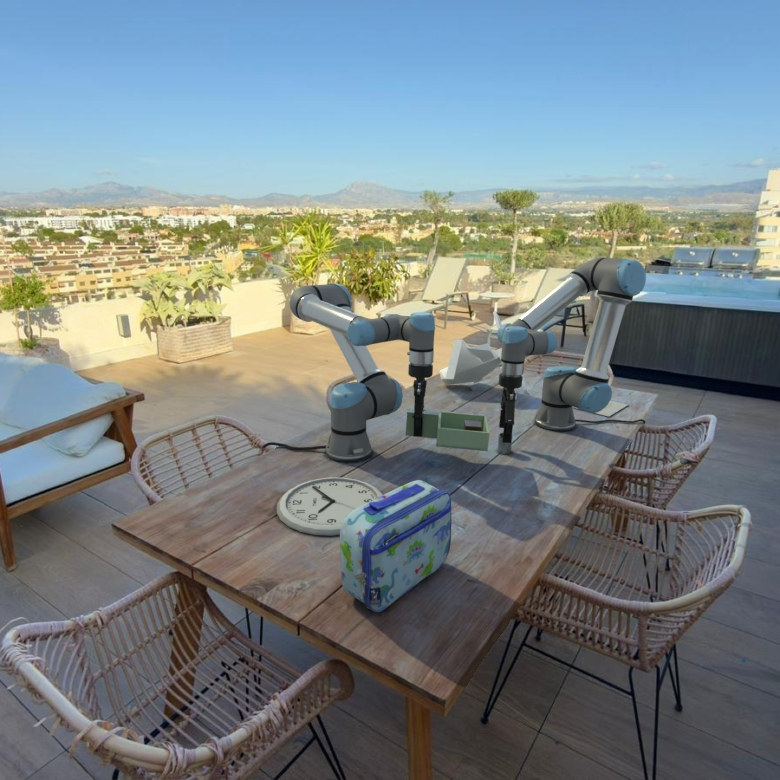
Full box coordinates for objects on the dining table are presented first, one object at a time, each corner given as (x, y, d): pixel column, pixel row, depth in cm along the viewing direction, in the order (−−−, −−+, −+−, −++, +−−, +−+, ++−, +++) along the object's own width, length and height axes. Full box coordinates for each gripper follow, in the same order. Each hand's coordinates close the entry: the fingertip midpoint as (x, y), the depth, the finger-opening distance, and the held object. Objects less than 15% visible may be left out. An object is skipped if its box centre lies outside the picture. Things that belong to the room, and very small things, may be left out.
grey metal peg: (510, 449, 181) (511, 433, 179) (511, 454, 177) (512, 438, 175) (497, 448, 181) (498, 432, 180) (498, 453, 177) (499, 437, 175)
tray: (484, 432, 173) (487, 409, 171) (487, 451, 159) (490, 426, 156) (408, 425, 176) (409, 402, 174) (403, 443, 161) (405, 419, 159)
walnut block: (478, 439, 166) (480, 421, 164) (480, 445, 161) (482, 427, 159) (462, 437, 166) (464, 420, 164) (463, 444, 161) (465, 425, 159)
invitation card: (608, 416, 214) (573, 407, 224) (608, 416, 214) (573, 408, 224) (628, 404, 229) (594, 396, 238) (628, 405, 229) (594, 397, 238)
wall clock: (392, 527, 129) (268, 531, 127) (391, 533, 130) (269, 537, 127) (383, 473, 158) (282, 475, 155) (383, 478, 158) (282, 480, 156)
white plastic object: (461, 429, 252) (437, 405, 227) (444, 352, 274) (420, 323, 250) (535, 404, 240) (518, 377, 215) (510, 326, 262) (492, 293, 237)
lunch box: (369, 626, 100) (370, 530, 93) (334, 598, 107) (332, 507, 101) (455, 567, 117) (460, 483, 111) (419, 547, 124) (423, 467, 118)
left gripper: (410, 356, 169) (408, 424, 176) (406, 369, 154) (404, 443, 161) (434, 357, 168) (431, 425, 175) (431, 370, 153) (428, 444, 160)
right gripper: (496, 364, 183) (491, 421, 189) (502, 383, 159) (496, 448, 166) (518, 365, 182) (512, 422, 189) (527, 385, 159) (520, 450, 165)
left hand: (418, 433), depth 168 cm, fingers closed on tray, 3 cm apart
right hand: (504, 434), depth 177 cm, fingers open, 13 cm apart
